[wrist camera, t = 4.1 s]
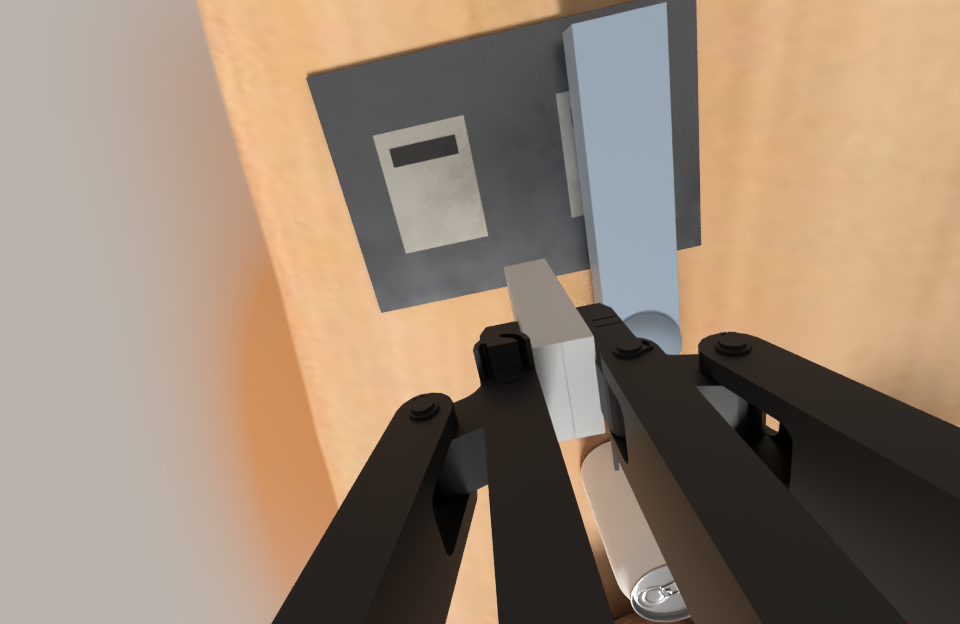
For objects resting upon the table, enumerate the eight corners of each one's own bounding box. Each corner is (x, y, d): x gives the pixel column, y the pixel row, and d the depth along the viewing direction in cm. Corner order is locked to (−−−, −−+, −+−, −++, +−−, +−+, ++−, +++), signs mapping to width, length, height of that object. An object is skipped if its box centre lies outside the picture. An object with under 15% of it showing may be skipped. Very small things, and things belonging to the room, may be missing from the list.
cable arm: (647, 14, 26) (668, 1, 23) (666, 353, 34) (682, 371, 32) (561, 34, 26) (572, 23, 23) (601, 366, 34) (612, 385, 32)
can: (566, 457, 40) (607, 585, 29) (633, 424, 39) (702, 543, 28) (597, 504, 42) (647, 639, 31) (661, 474, 41) (736, 603, 30)
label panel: (694, -13, 27) (696, -14, 26) (699, 244, 33) (701, 245, 33) (307, 78, 28) (306, 78, 28) (381, 311, 34) (381, 313, 34)
